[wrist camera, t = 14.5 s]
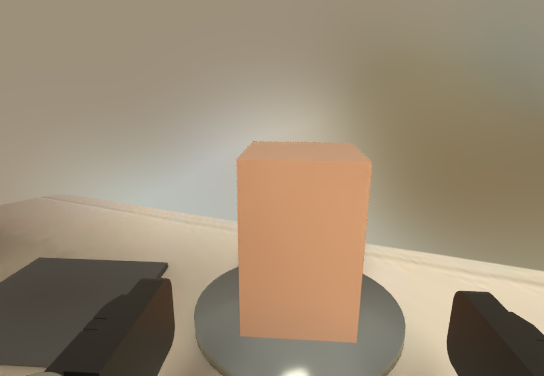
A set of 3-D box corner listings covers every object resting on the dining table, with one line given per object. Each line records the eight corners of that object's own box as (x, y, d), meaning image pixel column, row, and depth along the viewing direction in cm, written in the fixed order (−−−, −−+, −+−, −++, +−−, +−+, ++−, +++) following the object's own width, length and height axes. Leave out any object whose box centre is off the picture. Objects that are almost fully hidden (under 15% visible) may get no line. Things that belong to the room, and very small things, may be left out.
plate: (148, 332, 21) (147, 320, 21) (270, 252, 31) (270, 244, 31) (357, 455, 14) (359, 439, 14) (424, 300, 24) (425, 290, 24)
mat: (-106, 358, 19) (-108, 351, 18) (40, 261, 29) (39, 257, 29) (91, 369, 18) (90, 363, 18) (167, 267, 28) (167, 262, 28)
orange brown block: (240, 336, 19) (236, 159, 17) (254, 277, 25) (253, 141, 23) (356, 342, 19) (372, 162, 16) (342, 281, 25) (351, 143, 22)
